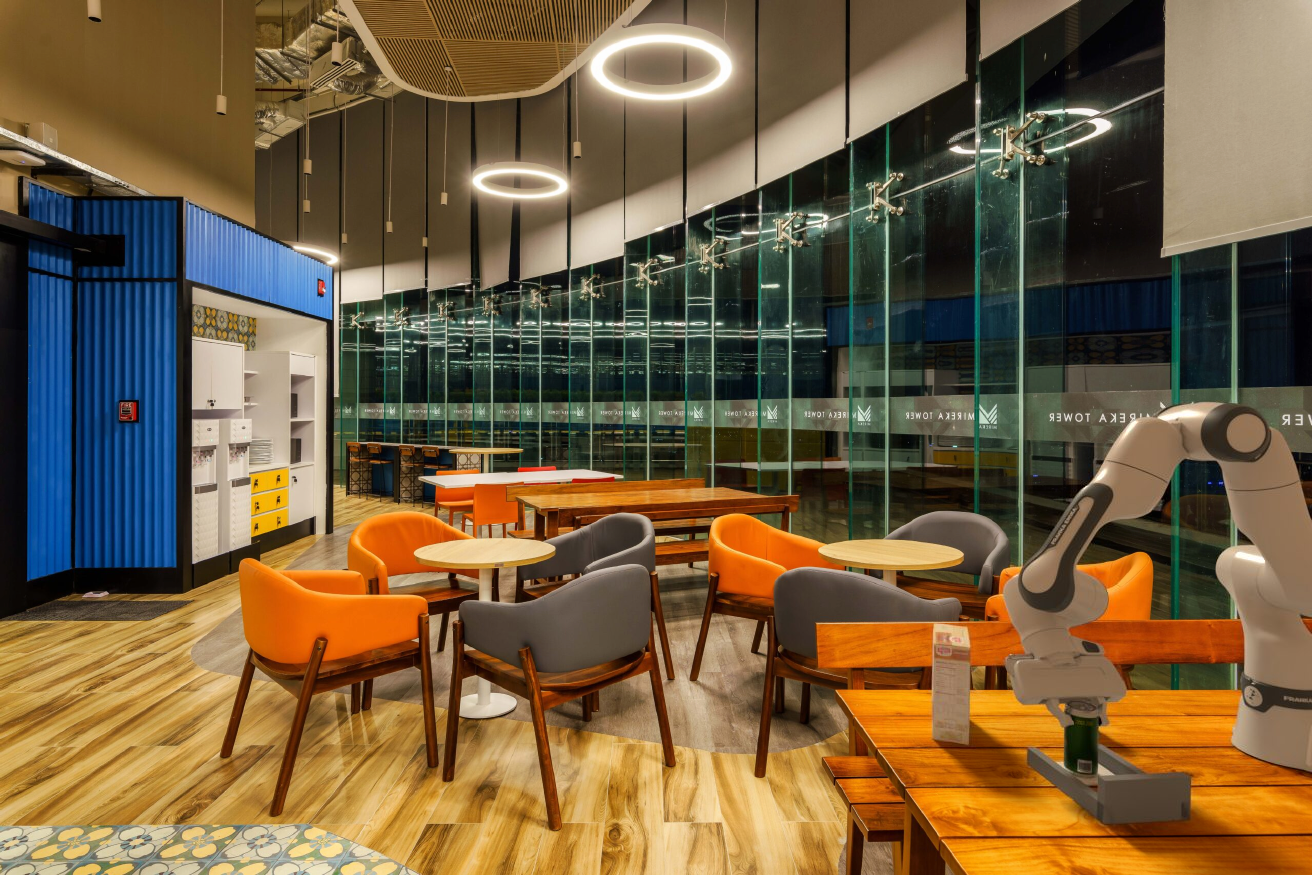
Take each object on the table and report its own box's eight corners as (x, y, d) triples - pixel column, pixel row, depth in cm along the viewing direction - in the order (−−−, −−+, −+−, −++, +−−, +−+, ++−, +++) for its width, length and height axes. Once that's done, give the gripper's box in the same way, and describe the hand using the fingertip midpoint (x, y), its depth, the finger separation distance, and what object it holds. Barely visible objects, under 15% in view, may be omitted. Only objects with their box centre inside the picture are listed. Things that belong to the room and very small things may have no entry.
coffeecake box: (931, 710, 158) (933, 622, 157) (966, 716, 155) (968, 626, 154) (930, 739, 144) (932, 642, 143) (969, 745, 141) (971, 647, 140)
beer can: (1103, 779, 127) (1105, 712, 127) (1071, 778, 128) (1072, 711, 128) (1089, 764, 133) (1090, 700, 132) (1058, 763, 133) (1059, 699, 133)
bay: (1101, 759, 136) (1102, 723, 135) (1190, 819, 116) (1191, 776, 115) (1026, 763, 134) (1027, 726, 134) (1103, 824, 114) (1105, 780, 114)
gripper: (1008, 646, 135) (1039, 720, 125) (1110, 644, 137) (1148, 716, 128) (994, 662, 139) (1023, 734, 130) (1092, 659, 142) (1128, 730, 132)
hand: (1086, 725), depth 129 cm, fingers open, 5 cm apart
